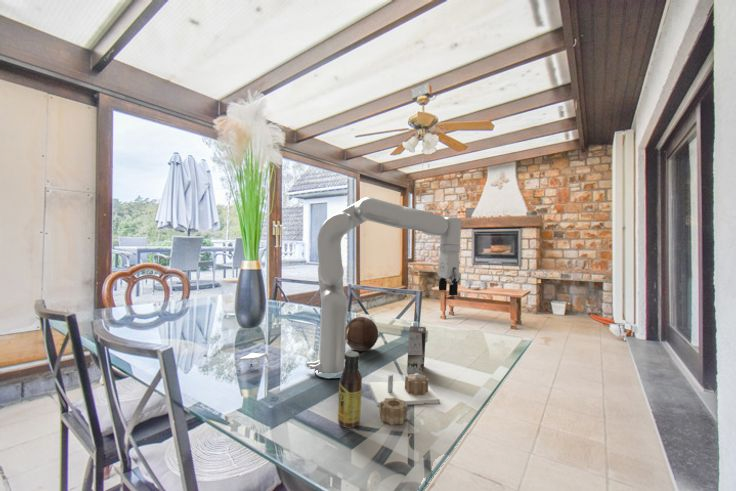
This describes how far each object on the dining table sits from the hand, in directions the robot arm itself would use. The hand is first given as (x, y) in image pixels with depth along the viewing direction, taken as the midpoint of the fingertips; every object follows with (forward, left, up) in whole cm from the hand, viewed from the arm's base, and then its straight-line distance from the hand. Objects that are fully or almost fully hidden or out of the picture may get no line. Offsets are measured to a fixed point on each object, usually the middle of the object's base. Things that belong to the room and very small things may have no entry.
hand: (447, 292), depth 134 cm
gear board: (-22, -18, -31) cm, 42 cm away
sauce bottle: (-42, -33, -31) cm, 62 cm away
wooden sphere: (-29, +24, -31) cm, 49 cm away
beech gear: (-29, -32, -31) cm, 53 cm away
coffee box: (-11, +1, -31) cm, 33 cm away
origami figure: (-74, +8, -31) cm, 81 cm away
